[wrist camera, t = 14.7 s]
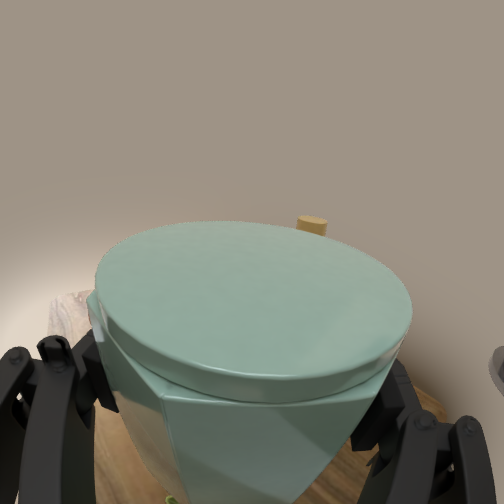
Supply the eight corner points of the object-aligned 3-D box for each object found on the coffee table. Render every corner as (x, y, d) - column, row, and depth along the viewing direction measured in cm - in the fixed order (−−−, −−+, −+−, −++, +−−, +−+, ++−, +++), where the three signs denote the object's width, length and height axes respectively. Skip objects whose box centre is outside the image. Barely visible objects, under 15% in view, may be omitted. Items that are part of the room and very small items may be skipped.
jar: (328, 511, 7) (477, 349, 4) (140, 509, 6) (20, 336, 3) (299, 393, 14) (343, 231, 11) (163, 387, 14) (150, 214, 10)
